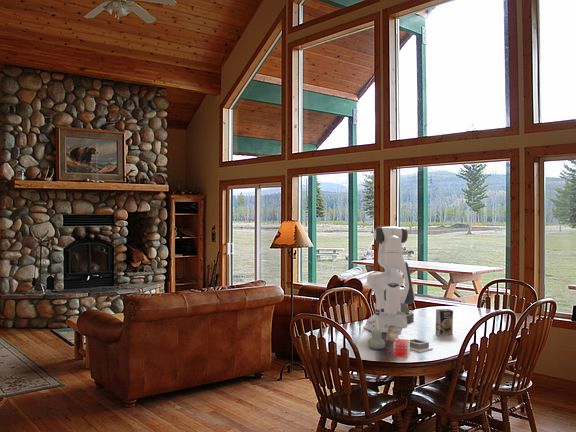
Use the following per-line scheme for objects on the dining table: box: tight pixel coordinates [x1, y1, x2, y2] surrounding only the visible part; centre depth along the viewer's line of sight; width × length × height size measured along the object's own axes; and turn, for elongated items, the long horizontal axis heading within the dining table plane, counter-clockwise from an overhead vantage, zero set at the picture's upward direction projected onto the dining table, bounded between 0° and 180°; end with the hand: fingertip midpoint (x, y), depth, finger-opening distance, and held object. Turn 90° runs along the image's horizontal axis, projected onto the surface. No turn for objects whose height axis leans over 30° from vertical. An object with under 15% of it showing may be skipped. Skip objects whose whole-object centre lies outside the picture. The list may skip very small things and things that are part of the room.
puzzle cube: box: [392, 338, 411, 358], centre depth 302 cm, size 8×8×8 cm
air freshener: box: [367, 330, 386, 351], centre depth 315 cm, size 11×8×10 cm
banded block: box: [385, 326, 399, 345], centre depth 329 cm, size 4×6×10 cm, turn 124°
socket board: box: [409, 338, 434, 353], centre depth 317 cm, size 14×11×4 cm
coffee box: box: [435, 308, 454, 337], centre depth 353 cm, size 9×6×16 cm
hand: (393, 333), depth 329 cm, fingers open, 8 cm apart
